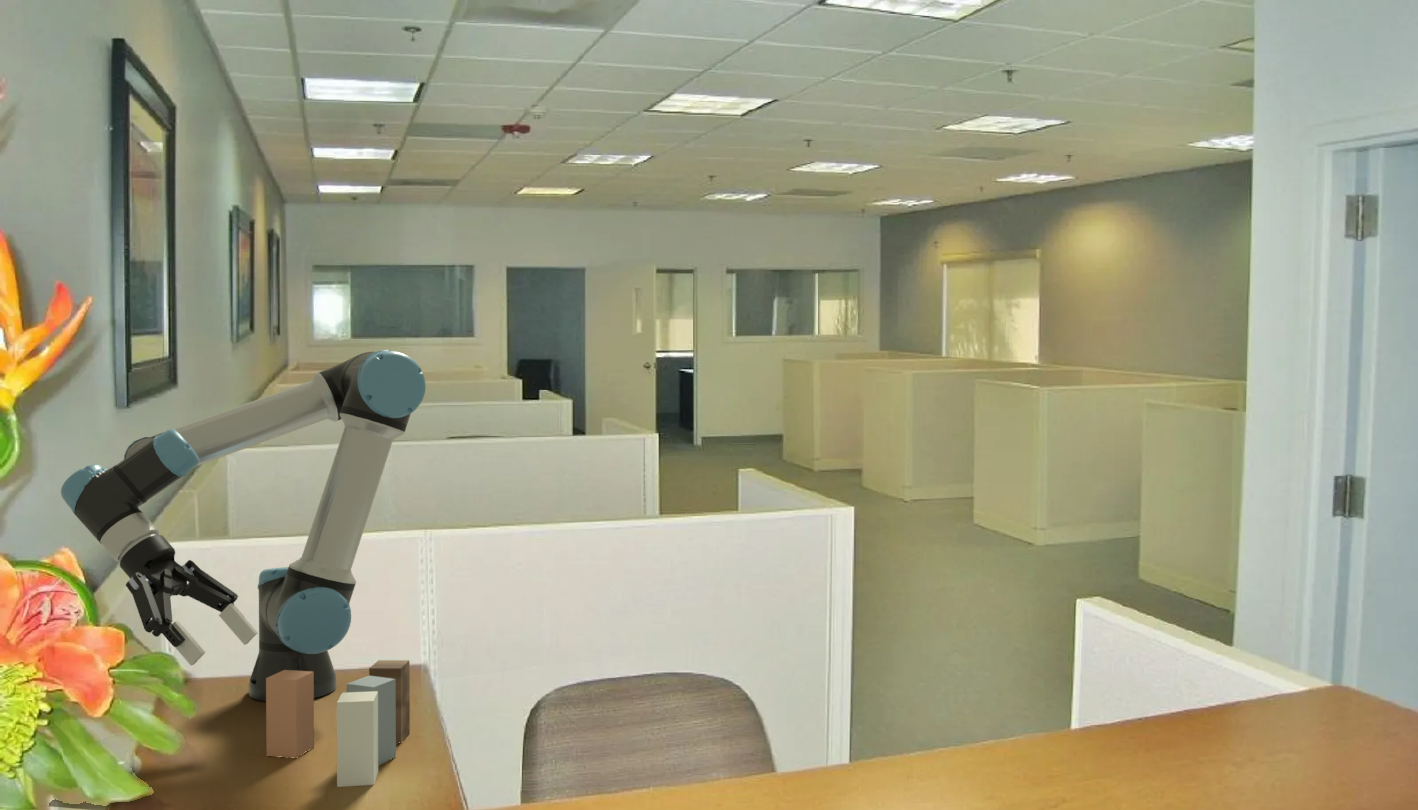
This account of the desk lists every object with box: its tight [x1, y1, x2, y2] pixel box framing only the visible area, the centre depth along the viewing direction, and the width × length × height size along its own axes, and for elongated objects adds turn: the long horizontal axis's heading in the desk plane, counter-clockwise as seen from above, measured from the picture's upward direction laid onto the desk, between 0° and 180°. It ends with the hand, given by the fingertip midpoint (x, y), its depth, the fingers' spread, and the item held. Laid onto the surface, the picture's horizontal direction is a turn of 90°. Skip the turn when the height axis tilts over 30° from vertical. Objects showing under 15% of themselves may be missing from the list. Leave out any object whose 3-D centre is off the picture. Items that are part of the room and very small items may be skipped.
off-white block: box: [336, 691, 379, 788], centre depth 161 cm, size 5×5×12 cm
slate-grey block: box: [346, 675, 397, 767], centre depth 169 cm, size 5×5×12 cm
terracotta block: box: [265, 670, 315, 759], centre depth 173 cm, size 5×5×12 cm
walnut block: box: [368, 659, 411, 744], centre depth 179 cm, size 5×5×12 cm
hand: (225, 648), depth 174 cm, fingers open, 13 cm apart
